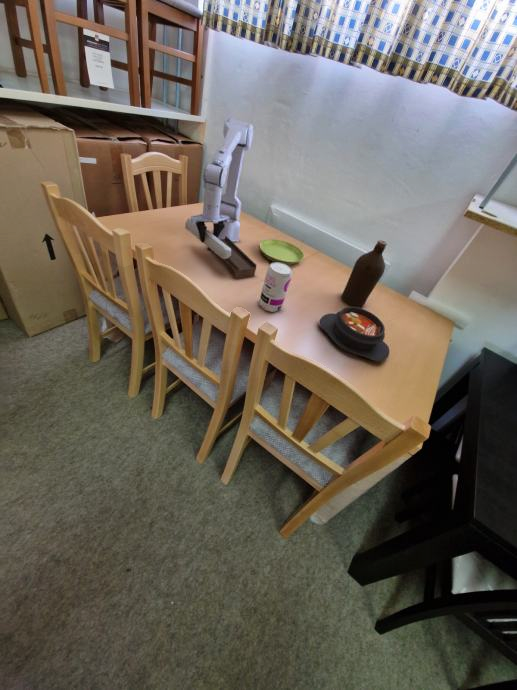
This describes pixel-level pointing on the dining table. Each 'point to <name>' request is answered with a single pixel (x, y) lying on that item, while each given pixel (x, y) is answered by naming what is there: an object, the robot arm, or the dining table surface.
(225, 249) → the grey octagonal prism
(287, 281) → the supplement can
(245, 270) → the dark brown tray
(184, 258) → the dining table surface
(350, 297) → the olive oil
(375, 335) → the casserole
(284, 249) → the saucer
